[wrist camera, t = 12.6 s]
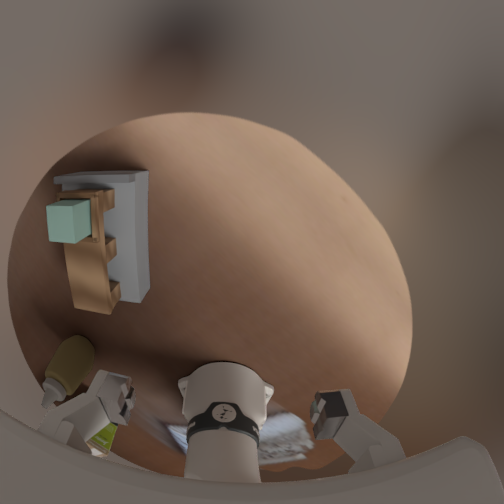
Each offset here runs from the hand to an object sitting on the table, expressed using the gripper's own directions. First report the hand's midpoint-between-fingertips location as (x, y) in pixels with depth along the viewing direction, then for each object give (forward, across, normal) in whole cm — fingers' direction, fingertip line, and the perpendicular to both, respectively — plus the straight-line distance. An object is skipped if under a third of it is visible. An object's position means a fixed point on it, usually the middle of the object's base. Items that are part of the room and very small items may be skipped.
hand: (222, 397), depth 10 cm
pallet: (+24, +19, +3) cm, 31 cm away
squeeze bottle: (+29, +30, +27) cm, 50 cm away
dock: (+29, +19, +2) cm, 35 cm away
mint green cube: (+20, +19, -2) cm, 27 cm away
